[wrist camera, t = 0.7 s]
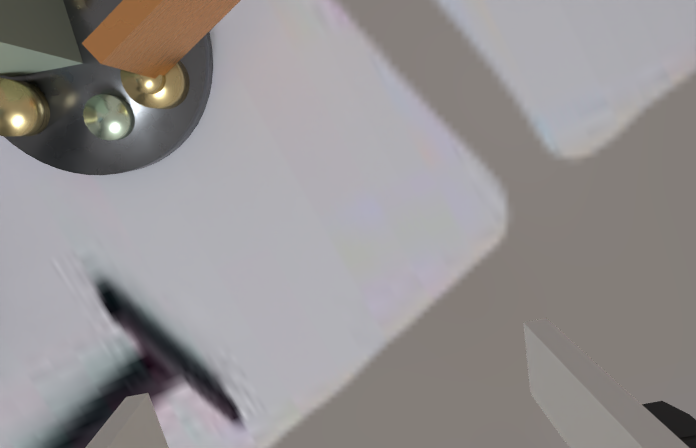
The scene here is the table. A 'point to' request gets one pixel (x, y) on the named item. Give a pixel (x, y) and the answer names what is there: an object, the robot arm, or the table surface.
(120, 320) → the table surface
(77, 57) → the wedge with rod handle
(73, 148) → the tribrach plate
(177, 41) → the lever
